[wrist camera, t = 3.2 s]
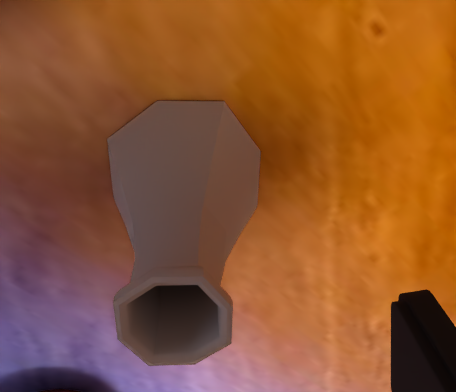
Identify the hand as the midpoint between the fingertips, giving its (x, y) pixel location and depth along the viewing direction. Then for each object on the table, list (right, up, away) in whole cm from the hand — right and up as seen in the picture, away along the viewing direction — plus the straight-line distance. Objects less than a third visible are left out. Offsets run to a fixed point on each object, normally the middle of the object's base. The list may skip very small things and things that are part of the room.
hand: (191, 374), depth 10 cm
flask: (-1, +5, +11) cm, 12 cm away
